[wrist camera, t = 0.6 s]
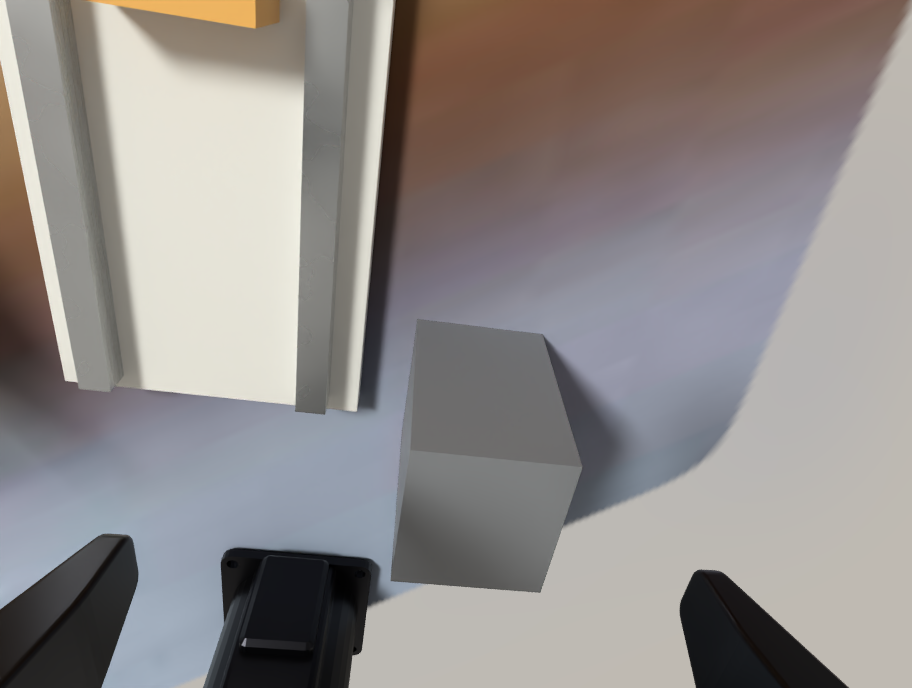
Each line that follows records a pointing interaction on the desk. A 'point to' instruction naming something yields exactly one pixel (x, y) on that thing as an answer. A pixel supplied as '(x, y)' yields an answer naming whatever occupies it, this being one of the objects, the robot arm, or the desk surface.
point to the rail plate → (204, 192)
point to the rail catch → (211, 10)
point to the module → (481, 460)
